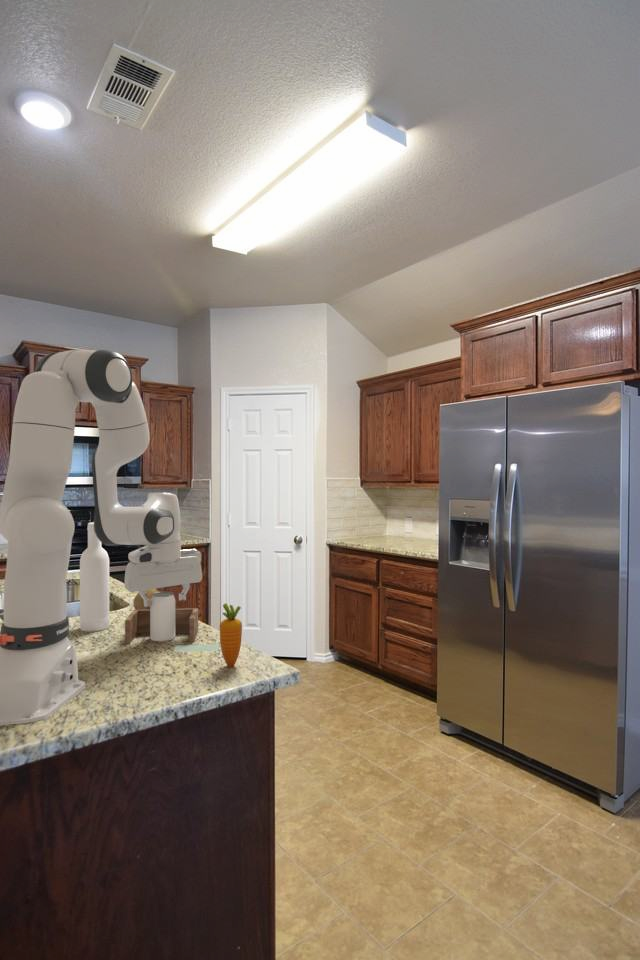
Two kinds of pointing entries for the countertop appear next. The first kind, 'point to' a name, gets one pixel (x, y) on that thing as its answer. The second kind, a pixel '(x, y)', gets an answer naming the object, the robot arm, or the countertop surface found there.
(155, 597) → the can
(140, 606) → the natural sponge
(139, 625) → the brown wooden u-shaped frame
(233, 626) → the carrot
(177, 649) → the mat
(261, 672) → the countertop surface
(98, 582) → the bottle
